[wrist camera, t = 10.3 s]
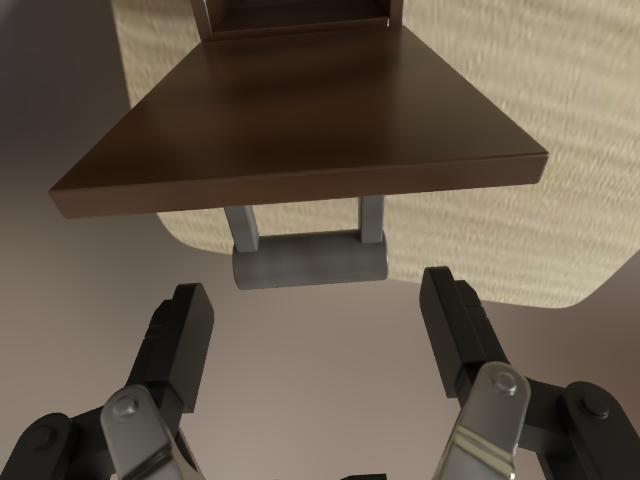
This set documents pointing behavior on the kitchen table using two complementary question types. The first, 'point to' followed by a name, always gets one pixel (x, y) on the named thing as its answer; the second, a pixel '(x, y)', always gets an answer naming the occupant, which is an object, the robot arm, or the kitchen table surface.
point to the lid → (301, 145)
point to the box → (290, 17)
